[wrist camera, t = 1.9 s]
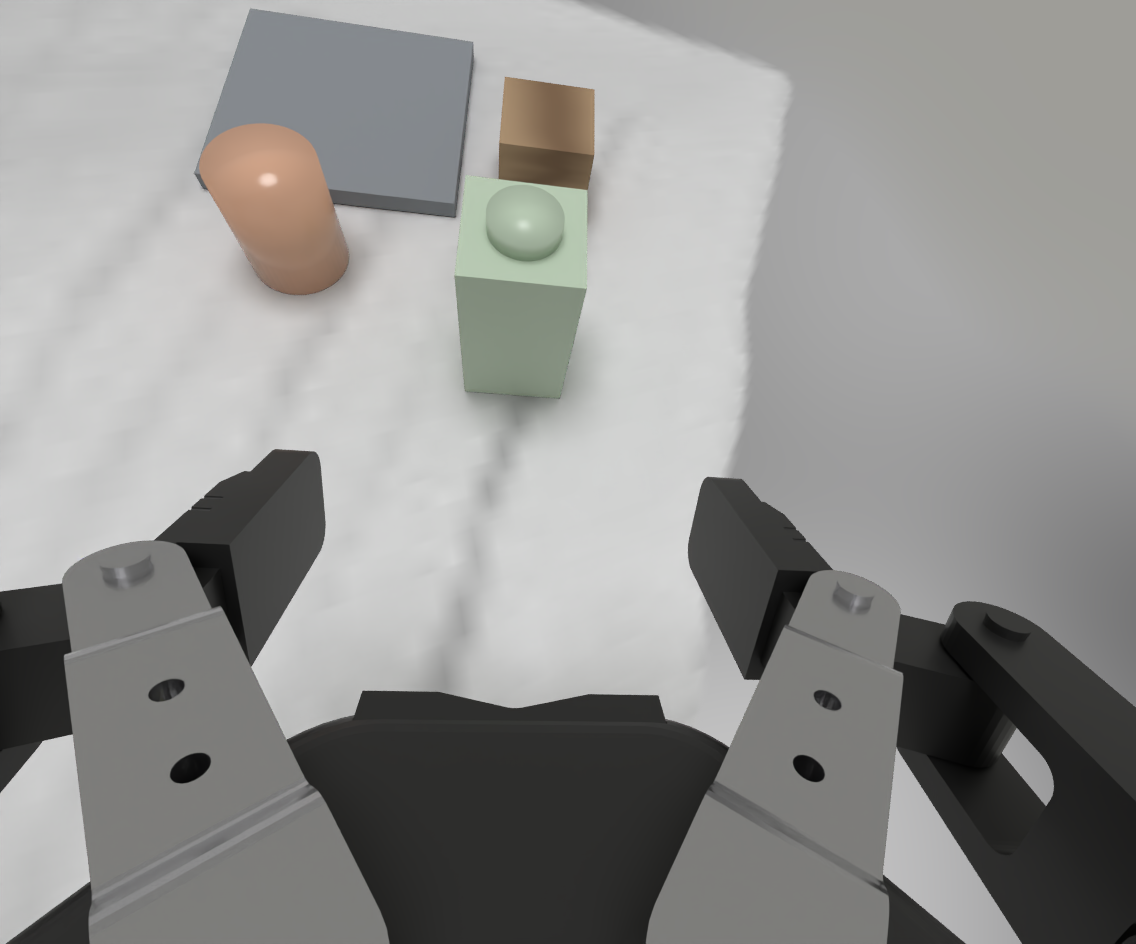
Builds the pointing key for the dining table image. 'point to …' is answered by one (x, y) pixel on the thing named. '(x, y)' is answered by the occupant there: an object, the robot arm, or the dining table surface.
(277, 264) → the terracotta cylinder
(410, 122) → the slate mat
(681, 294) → the dining table surface
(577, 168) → the walnut block
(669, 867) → the robot arm
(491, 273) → the sage brick
